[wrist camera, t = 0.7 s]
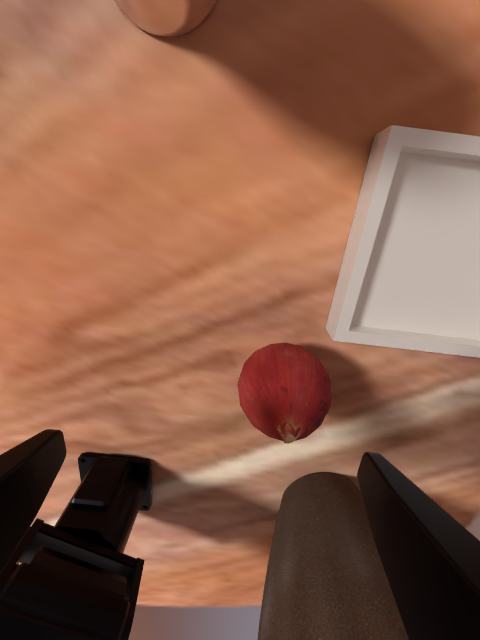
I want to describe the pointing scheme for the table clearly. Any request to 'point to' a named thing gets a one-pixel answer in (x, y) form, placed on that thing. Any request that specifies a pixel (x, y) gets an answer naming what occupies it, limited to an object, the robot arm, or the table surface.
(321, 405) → the onion
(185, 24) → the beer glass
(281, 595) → the plant pot
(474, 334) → the dish
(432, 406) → the table surface
